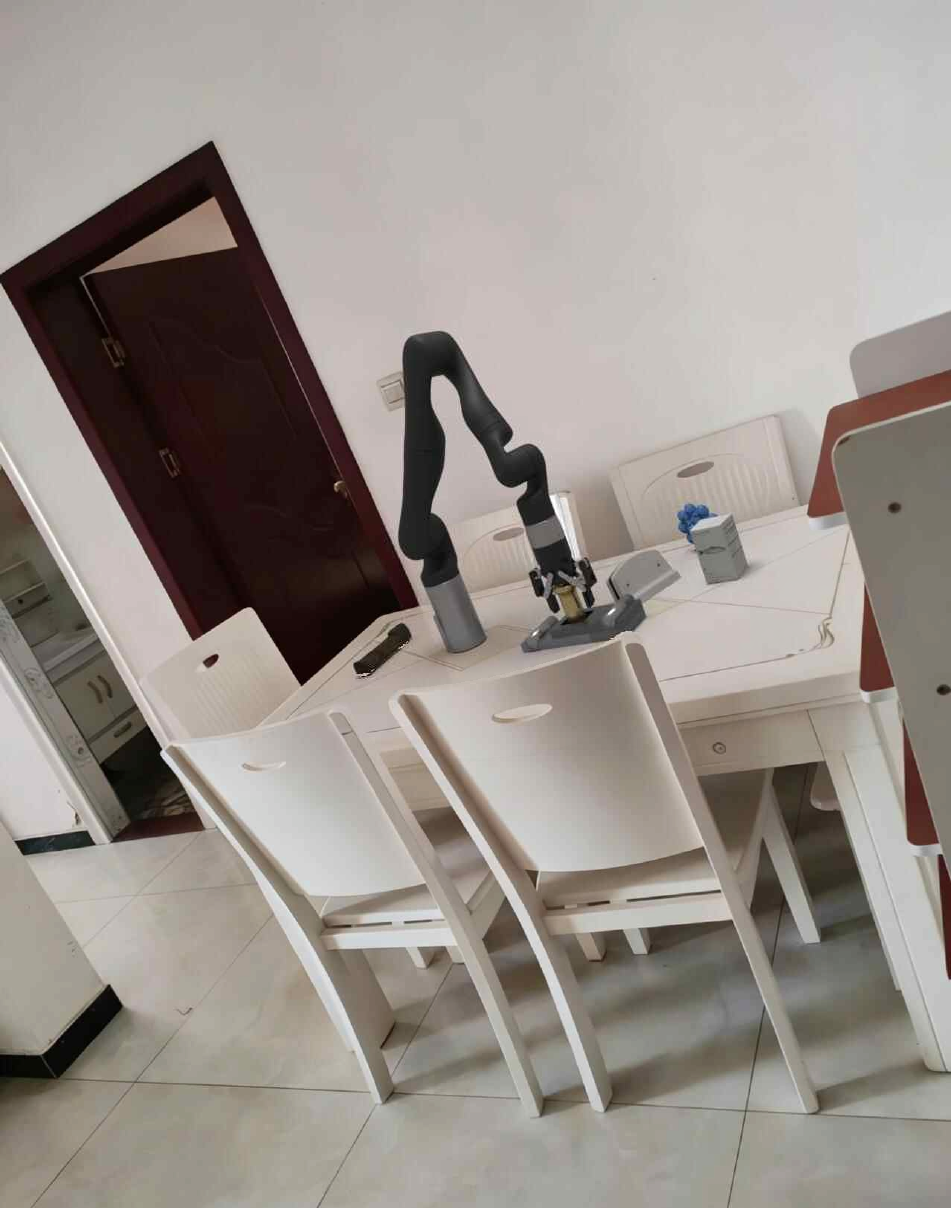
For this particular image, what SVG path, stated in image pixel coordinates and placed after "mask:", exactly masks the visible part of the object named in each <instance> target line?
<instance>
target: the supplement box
mask: <svg viewBox="0 0 951 1208" xmlns="http://www.w3.org/2000/svg"><path fill="white" fill-rule="evenodd" d="M690 534H691V537H692V540H693V543H694V544H693V545H694V546H693V547H694V548H695V552H696V555H697V558H698V560H699V561H698V562H699V564H700V567H701V570H702V574H703V576H704V579H705V583H706V585H710V584H714V583H715V584H716V583H719V582H720V583H721V582H727V581H735V580H738V579H739V578H740V577H742V575H743V574H744V573H745V571H746V570H747V569H748V568H749V564H748V561H747V558H746V555H745V551H744V548H743V545H742V541H741V539H740V538H741V537H740V535H739V532H738V529H737V525H736V522H735V519H734V515H733V513H728V514H722V515H718V516H717V517H711V518H706V519H702V520H700V521H699V522H698V523H697V524H696V525H695V526H694V527H693V528H692V529H691V530H690Z"/></svg>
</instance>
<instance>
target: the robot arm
mask: <svg viewBox="0 0 951 1208" xmlns="http://www.w3.org/2000/svg"><path fill="white" fill-rule="evenodd" d="M401 357H402V359H401V360H402V362H401V363H402V364H401V365H402V376H403V377H402V379H403V390H404V391H403V392H404V436H403V456H402V458H403V476H402V477H403V478H402V499H401V500H402V501H401V510H400V516H399V517H400V518H399V524H398V532H397V541H398V545H399V549H400V551H401V552H402V554H403V555H404V556H405V557H406V558H408V559H409V560H411V561H421V560H423V563H422V564H423V567H422V570H421V572H420V576H419V578H420V581H421V583H422V586H423V588H424V591H425V593H426V595H427V598H428V600H429V602H430V605H431V607H432V609H433V612H434V614H433V616H432V619H433V621H434V623H435V626H436V628H437V630H438V632H439V635H440V637H441V640H442V641H443V644H444V646H445V649H446V651H447V652H451V653H454V652H456V653H460V652H464V651H465V652H466V651H468V650H470V649H473V648H475V647H477V646H479V645H480V644H482V643H483V642H484V641H485V640H486V639H487V635H486V633H485V630H484V628H483V626H482V623H481V621H480V620H481V619H480V618H479V615H478V613H477V611H476V607H475V605H474V603H473V601H472V598H471V595H470V593H469V591H468V588H467V586H466V584H465V582H464V579H463V577H462V574H461V572H460V569H459V566H458V563H459V561H458V555H457V552H456V548H455V546H454V543H453V541H452V538H451V534H450V532H449V530H448V528H447V526H446V524H445V522H444V521H443V520H442V518H441V517H440V516H439V515H437V513H436V514H435V513H433V512H432V508H433V507H432V506H433V502H434V499H435V496H436V492H437V490H438V487H439V484H440V481H441V478H442V475H443V472H444V469H445V464H446V463H445V461H446V445H447V443H446V442H447V441H446V440H447V439H446V434H445V431H444V429H443V425H442V423H441V422H440V420H439V418H438V416H437V414H436V412H435V410H434V408H433V403H432V379H433V378H436V377H441V376H443V377H445V378H446V380H448V381H449V382H450V383H451V384H452V386H453V387H454V388H455V390H456V392H457V395H458V398H459V403H460V408H461V415H462V417H463V421H464V424H465V425H466V426H467V428H468V429H469V431H470V432H471V433H472V435H473V436H474V438H475V439H476V440H477V441H478V442H479V444H480V445H481V447H482V448H483V449H484V453H485V454H486V456H487V459H488V460H489V463H490V466H491V469H492V470H493V471H492V472H493V474H494V477H495V478H496V480H497V481H498V483H500V484H501V485H502V486H504V487H506V488H509V489H513V488H517V487H518V486H521V485H523V484H525V483H526V490H525V491H524V493H522V495H520V496H519V497H518V498H517V500H516V507H517V511H518V514H519V516H520V518H521V521H522V523H523V527H524V529H525V535H526V537H527V540H528V543H529V545H530V548H531V551H532V553H533V555H534V558H535V561H536V564H537V566H539V568H538V567H534V568H533V569H532V570H530V571H529V572H528V577H529V580H530V583H531V586H532V588H533V591H534V594H535V597H537V598H540V597H541V598H544V599H545V600H546V603H547V605H548V608H549V610H550V612H552V613H553V614H557V613H559V611H561V607H560V604H559V602H558V599H557V597H556V594H555V593H554V591H553V587H554V586H555V585H556V586H559V585H561V584H569V583H570V584H572V585H573V586H576V588H578V589H579V590H580V591H581V596H582V598H583V600H584V604H585V605H586V608H590V607H594V605H595V602H596V599H595V596H594V593H593V590H592V588H593V587H594V586H595V585H596V584H597V583H598V579H597V577H596V573H595V572H594V569H593V567H592V565H591V563H590V561H589V559H588V557H585V556H584V557H583V558H582V559H578V560H575V559H574V558H573V554H572V549H571V547H570V544H569V541H568V539H567V537H566V533H565V530H564V528H563V525H562V523H561V521H560V519H559V518H558V515H557V513H556V511H555V508H554V505H553V503H552V500H551V496H550V491H549V490H550V489H549V482H548V471H547V464H546V462H547V461H546V460H545V456H544V454H543V453H542V451H541V450H540V449H539V447H538V446H536V445H535V444H532V443H525V444H522V445H520V446H518V447H515V448H514V449H512V450H509V451H508V452H507V451H506V449H505V448H504V447H505V446H507V445H508V444H509V443H510V442H511V441H512V439H513V436H514V430H513V428H512V427H511V425H510V424H509V423H508V422H507V420H506V419H505V418H504V416H503V415H502V413H501V412H500V411H499V410H498V408H496V407H495V405H494V404H493V402H492V401H491V399H490V398H489V397H488V395H487V393H486V392H485V391H484V389H483V387H482V385H481V384H480V381H479V380H478V378H477V376H476V374H475V372H474V371H473V368H472V367H471V365H470V363H469V362H468V360H467V358H466V356H465V354H464V352H463V350H462V349H461V348H460V346H459V344H458V343H457V341H456V339H455V338H454V337H453V336H452V335H451V334H450V333H448V331H447V332H446V331H444V330H436V331H435V330H434V331H429V332H423V333H422V332H421V333H417V334H413V335H411V336H409V337H408V338H407V339H406V340H405V342H404V344H403V348H402V356H401ZM577 569H578V570H577ZM579 571H580V572H581V573H580V572H579ZM542 577H543V578H544V579H546V581H545V585H544V583H543V579H542Z"/></svg>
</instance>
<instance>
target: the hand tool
mask: <svg viewBox="0 0 951 1208" xmlns="http://www.w3.org/2000/svg"><path fill="white" fill-rule="evenodd" d="M411 637H413V636H412V632H411V631H410V628H409V627H408V626H407V624H406V623H403V622H400V623H398V624H397V625H395V626H393V627H392V628H391V629H390V630H388V632H387V637H386V638H384V639H383V640H382V641H381V642H379V644H377V645H376V646H375V647H374V648H373V649H372V650H371V651H369V652H367V653H366V654H365V655H364V656H362V658H361V659H358V660H357V661H355V662H353V664H352V665H353V669H354V671H355V673H356V675H357V674H363V673H370V672H371V670H373V669H374V668H375V667H376V666H377V665H378V664H379V665H380V664H381V663H382V662H384V661H385V660H387V659H388V658H389V655H390V656H391V655H392V654H393V653H394V652H395V651H397V650H396V649H398V648H399V647H401V646H403V644H406V642H407V641H409V639H410V638H411ZM411 639H412V638H411ZM411 639H410V640H411ZM409 642H410V641H409ZM398 650H399V649H398ZM384 659H385V660H384ZM383 660H384V661H383ZM380 662H381V663H380ZM379 665H378V666H379ZM378 666H377V667H378ZM377 667H376V668H377ZM376 668H375V669H376ZM375 669H374V670H375ZM371 673H372V672H371Z"/></svg>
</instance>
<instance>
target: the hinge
mask: <svg viewBox="0 0 951 1208" xmlns="http://www.w3.org/2000/svg"><path fill="white" fill-rule="evenodd" d="M680 579H682V576H681V574H680V573H679V571H678V570H677V569H675V568H672V567H671V565H670V564H669V562H668V561H667V560H666V558H664V556H663V555H662V554H661V553H660V551H659V550H657V549H650V550H646V551H642V552H639V553H636V554H633V555H632V556H630V557H628V558H627V559H625V560H624V561H622V562H621V563H619V565H617V566H616V568H614V569H613V571H612V572H611V573H610V575H609V576H608V577H607V579H606V581H605V584H606V587H607V588H608V590H609V592H610V595H611V596H612V598H613V601H614V603H616V602H617V601H618V600H619V599H620V598H621V597H622V596H623V595H624V594H631V595H632V596H633V597H634V598H635V600H637V599H640V600H641V603H642V604H644V603H645V602H647V601H648V600H650V599H652V598H653V597H654V596H656V595H657V594H659V593H660V592H662V591H663V590H664V589H667V588H668V587H669V586H670V585H672V584H673V583H675V582H676V581H678V580H680Z"/></svg>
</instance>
